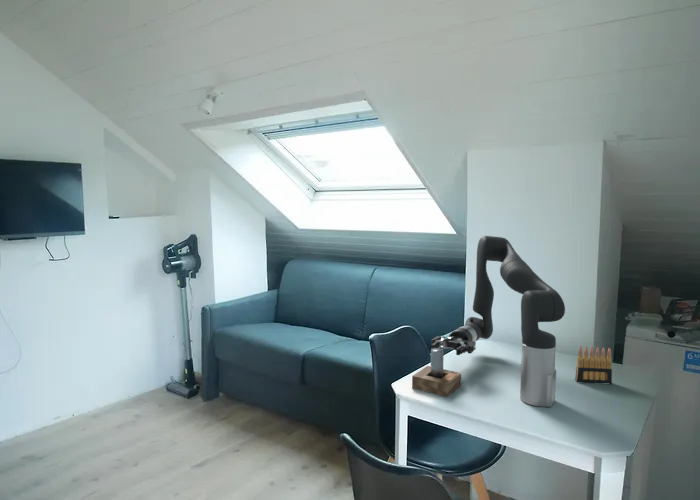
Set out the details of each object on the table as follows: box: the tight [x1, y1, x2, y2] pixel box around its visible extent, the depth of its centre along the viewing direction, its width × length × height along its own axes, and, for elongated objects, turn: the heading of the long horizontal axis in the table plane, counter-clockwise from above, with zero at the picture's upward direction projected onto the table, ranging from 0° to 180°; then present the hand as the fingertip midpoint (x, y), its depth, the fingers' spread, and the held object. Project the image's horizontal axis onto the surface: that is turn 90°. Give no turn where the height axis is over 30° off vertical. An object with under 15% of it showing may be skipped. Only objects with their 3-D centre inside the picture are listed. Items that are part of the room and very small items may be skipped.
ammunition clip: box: [574, 346, 613, 385], centre depth 152 cm, size 11×2×12 cm, turn 82°
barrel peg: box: [430, 348, 445, 379], centre depth 149 cm, size 4×4×12 cm
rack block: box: [411, 365, 462, 398], centre depth 149 cm, size 12×11×4 cm
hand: (445, 349), depth 153 cm, fingers open, 8 cm apart
